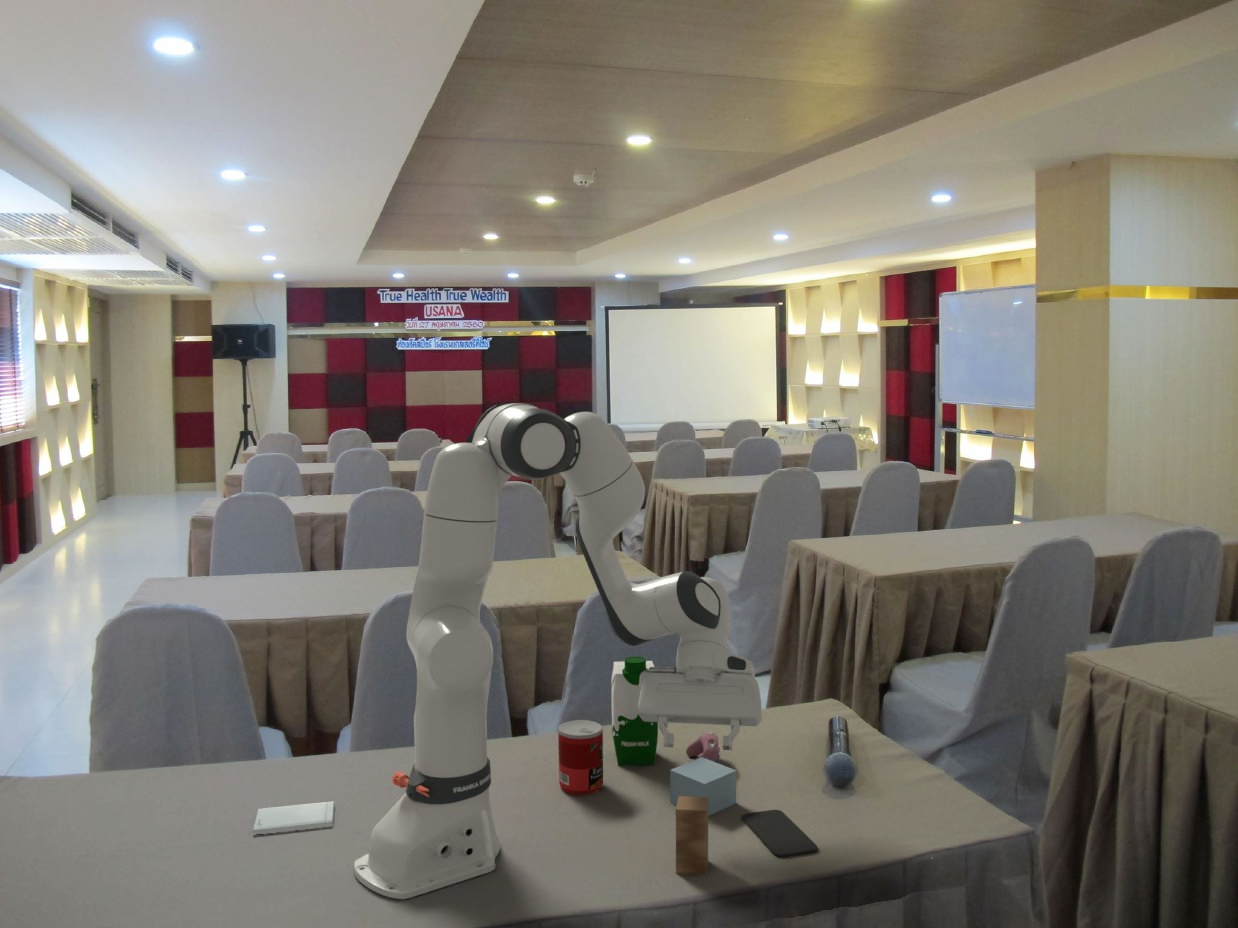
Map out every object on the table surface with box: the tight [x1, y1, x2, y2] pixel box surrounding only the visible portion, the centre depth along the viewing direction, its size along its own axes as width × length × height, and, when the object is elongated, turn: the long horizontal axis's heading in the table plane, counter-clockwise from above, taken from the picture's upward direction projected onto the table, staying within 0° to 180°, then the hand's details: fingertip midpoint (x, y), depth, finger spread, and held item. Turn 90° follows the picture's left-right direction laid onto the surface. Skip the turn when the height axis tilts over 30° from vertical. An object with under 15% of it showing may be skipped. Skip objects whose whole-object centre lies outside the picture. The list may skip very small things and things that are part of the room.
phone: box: [741, 809, 819, 859], centre depth 163 cm, size 7×1×15 cm
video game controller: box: [685, 730, 721, 763], centre depth 190 cm, size 10×5×7 cm, turn 0°
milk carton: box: [610, 656, 659, 767], centre depth 193 cm, size 9×9×20 cm
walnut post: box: [675, 796, 709, 876], centre depth 152 cm, size 4×4×10 cm
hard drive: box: [252, 801, 335, 836], centre depth 169 cm, size 2×8×12 cm
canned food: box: [557, 719, 604, 796], centre depth 181 cm, size 8×8×11 cm
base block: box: [669, 757, 737, 817], centre depth 174 cm, size 8×8×6 cm
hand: (697, 747), depth 162 cm, fingers open, 8 cm apart
